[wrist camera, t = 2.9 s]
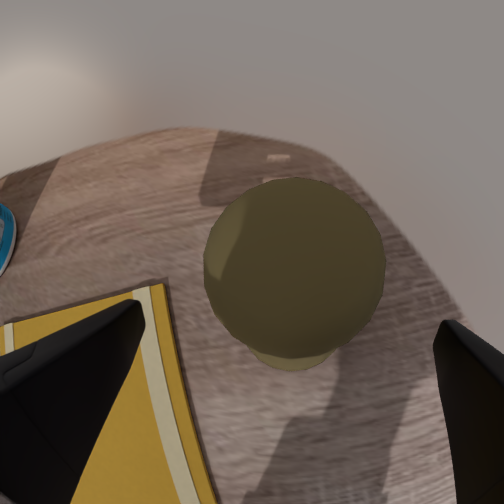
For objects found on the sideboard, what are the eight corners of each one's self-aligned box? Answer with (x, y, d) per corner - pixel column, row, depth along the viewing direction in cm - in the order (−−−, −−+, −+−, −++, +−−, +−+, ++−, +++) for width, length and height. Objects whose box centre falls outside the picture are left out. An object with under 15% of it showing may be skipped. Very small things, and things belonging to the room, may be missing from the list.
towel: (242, 569, 12) (241, 573, 11) (55, 548, 12) (52, 550, 12) (164, 284, 19) (162, 282, 19) (2, 327, 20) (-2, 326, 19)
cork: (229, 281, 19) (160, 176, 9) (328, 256, 19) (362, 127, 8) (253, 382, 17) (196, 402, 6) (358, 353, 16) (449, 327, 6)
